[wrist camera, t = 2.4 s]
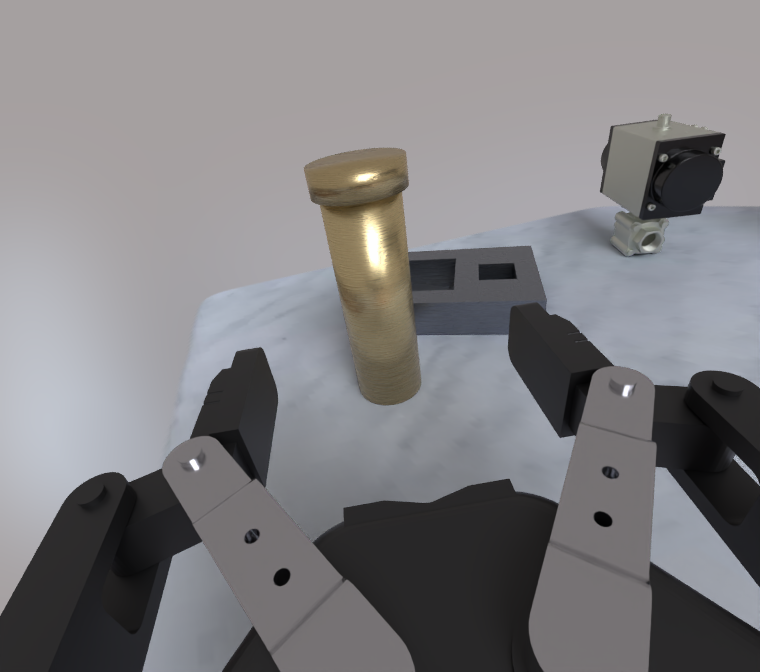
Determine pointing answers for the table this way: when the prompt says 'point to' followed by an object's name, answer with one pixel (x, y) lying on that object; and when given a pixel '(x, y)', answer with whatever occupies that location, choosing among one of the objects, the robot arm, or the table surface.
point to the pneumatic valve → (658, 178)
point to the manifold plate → (472, 289)
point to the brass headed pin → (371, 265)
